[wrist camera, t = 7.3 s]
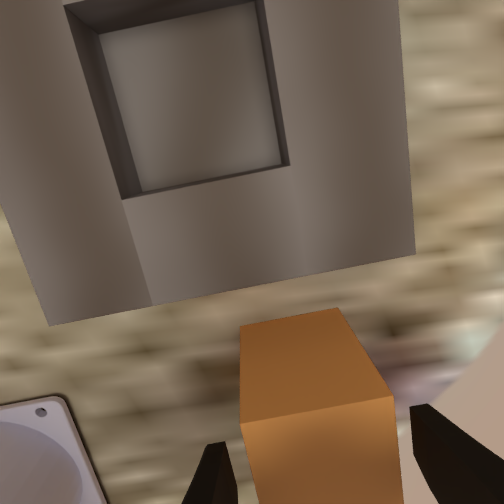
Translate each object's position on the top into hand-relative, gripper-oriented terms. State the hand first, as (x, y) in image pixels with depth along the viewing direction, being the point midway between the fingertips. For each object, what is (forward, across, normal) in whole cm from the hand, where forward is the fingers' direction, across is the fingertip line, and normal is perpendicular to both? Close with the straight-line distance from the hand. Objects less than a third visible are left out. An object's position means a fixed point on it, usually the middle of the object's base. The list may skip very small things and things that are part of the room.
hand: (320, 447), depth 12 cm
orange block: (+5, 0, 0) cm, 5 cm away
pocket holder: (+5, +2, -12) cm, 13 cm away
